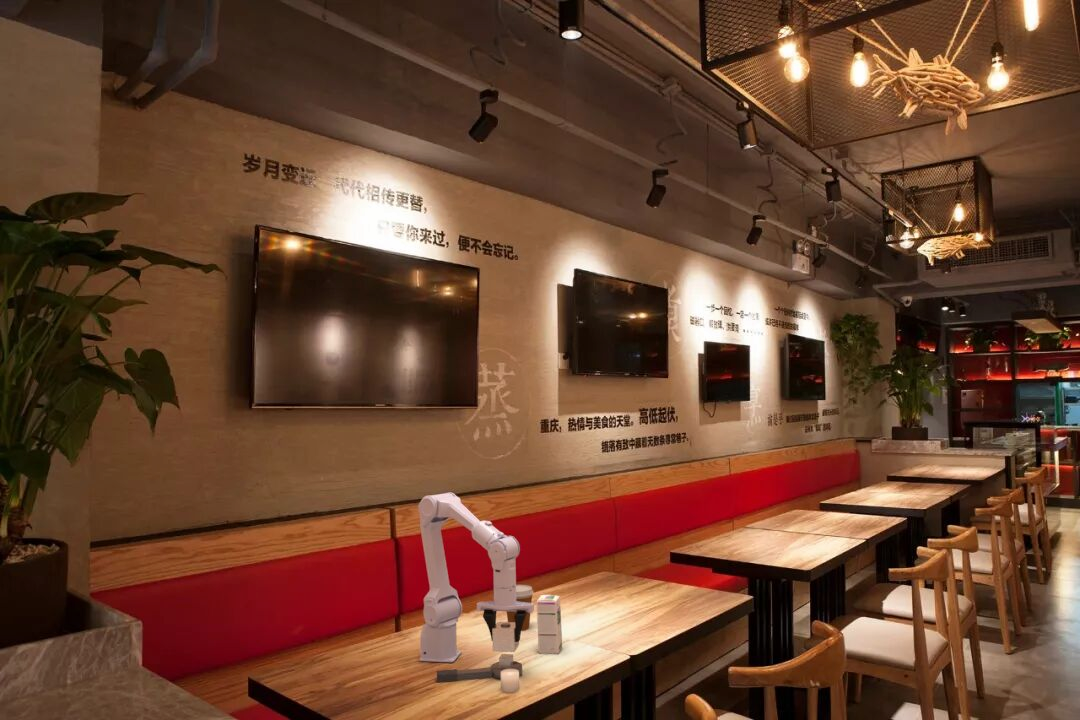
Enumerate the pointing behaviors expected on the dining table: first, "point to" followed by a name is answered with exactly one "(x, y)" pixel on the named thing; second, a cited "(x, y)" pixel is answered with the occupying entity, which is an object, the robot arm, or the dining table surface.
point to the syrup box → (549, 624)
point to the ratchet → (481, 671)
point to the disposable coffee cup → (522, 595)
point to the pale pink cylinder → (509, 680)
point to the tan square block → (504, 637)
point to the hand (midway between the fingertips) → (505, 640)
